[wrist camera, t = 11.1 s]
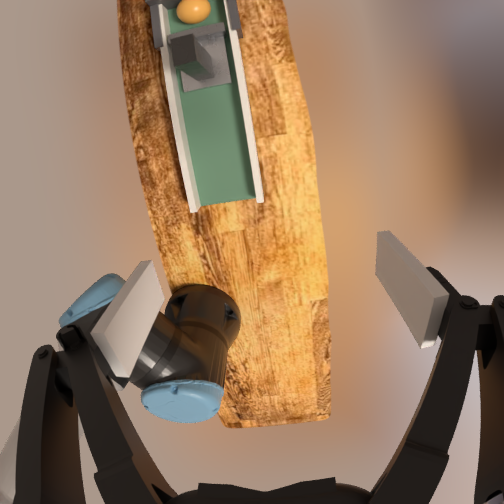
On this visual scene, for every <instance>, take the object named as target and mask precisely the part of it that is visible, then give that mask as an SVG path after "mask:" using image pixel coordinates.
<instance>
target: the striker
mask: <svg viewBox="0 0 504 504" xmlns="http://www.w3.org/2000/svg"><path fill="white" fill-rule="evenodd" d="M224 38H228V36H227V31H226V27H225V25H224V22H221V23H216V24H211V25H206V26H202V27H197V28H193V29H189V30H185V31H181V32H177V33H174V34H170V35H168V42H169V44H170V45H171V49H172V56H173V63H174V67H176V68H177V69H179V70H181V77H182V83H183V89H184V92H185V93H187V92H191V91H196V90H200V89H205V88H210V87H215V86H220V85H226V84H231V83H232V80H231V74H230V68H229V62H228V57H227V51H226V45H225V39H224Z"/></svg>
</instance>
